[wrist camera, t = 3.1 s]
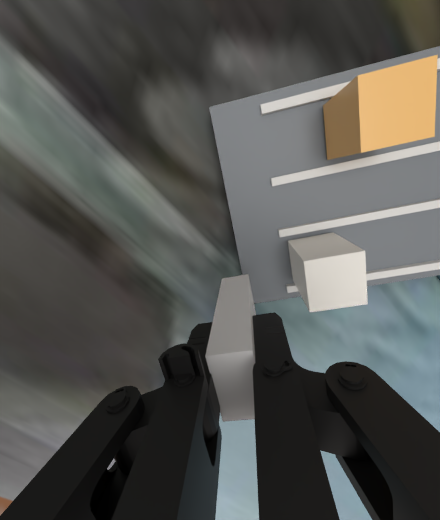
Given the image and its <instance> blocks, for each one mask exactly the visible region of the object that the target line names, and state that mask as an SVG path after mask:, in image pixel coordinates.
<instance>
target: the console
mask: <svg viewBox="0 0 440 520" xmlns="http://www.w3.org/2000/svg"><path fill="white" fill-rule="evenodd" d="M434 55H438V58H437V85H436V112H435V137H431V138H426V139H422V140H417V141H413V142H408V143H403V144H399V145H394V146H390V147H385V148H381V149H376V150H372V151H367V152H363V153H358V154H353V155H349V156H344V157H339V158H334V159H330V160H327V150H326V138H325V125H324V113H323V105H324V104H326V103H327V102H328V101H329V100H330V99H331V98H332V97H334V96H335V95H336V94H337V93H338V92H339V91H340V90H342V89H343V88H344V87H345V86H346V85H347V84H348V83H350V82H351V81H352V80H353V79H354V78H355V77H357V76H358V75H361V74H365V73H369V72H373V71H377V70H380V69H384V68H388V67H392V66H396V65H400V64H403V63H407V62H411V61H415V60H419V59H423V58H426V57H430V56H434ZM209 109H210V114H211V119H212V124H213V129H214V134H215V139H216V144H217V149H218V154H219V159H220V164H221V169H222V174H223V179H224V184H225V189H226V194H227V199H228V204H229V209H230V215H231V220H232V225H233V230H234V235H235V240H236V245H237V250H238V255H239V260H240V265H241V270H242V275H246V274H248V275H249V280H250V286H251V291H252V296H253V301H254V304H255V303H262V302H268V301H275V300H281V299H288V298H294V297H301V295H300V293H299V291H298V289H297V287H296V285H295V283H294V281H293V276H292V269H291V262H290V254H289V247H288V241H289V240H294V239H300V238H305V237H310V236H316V235H321V234H327V233H332V232H333V233H335V234H337V235H339V236H340V237H342V238H344V239H346V240H347V241H349V242H351V243H353V244H354V245H356V246H358V247H360V248H361V249H363V250H365V257H366V280H367V286H372V285H379V284H385V283H392V282H398V281H405V280H411V279H418V278H424V277H431V276H437V275H440V46H438V47H435V48H431V49H427V50H423V51H419V52H416V53H412V54H408V55H404V56H401V57H397V58H393V59H389V60H385V61H382V62H378V63H374V64H370V65H367V66H363V67H359V68H355V69H352V70H348V71H344V72H340V73H336V74H333V75H329V76H325V77H321V78H318V79H314V80H310V81H306V82H302V83H299V84H295V85H291V86H287V87H284V88H280V89H276V90H272V91H268V92H265V93H261V94H257V95H253V96H250V97H246V98H242V99H238V100H235V101H231V102H227V103H223V104H219V105H216V106H212V107H209Z"/></svg>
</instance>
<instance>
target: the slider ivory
mask: <svg viewBox="0 0 440 520" xmlns="http://www.w3.org/2000/svg"><path fill="white" fill-rule="evenodd" d="M288 247H289V254H290V262H291V269H292V276H293V281H294V283H295V285H296V287H297V289H298V291H299V293H300V295H301V297H302V299H303V300H304V302H305V304H306V306H307V308H308V310H309V312H316V311H323V310H330V309H337V308H344V307H351V306H358V305H365V304H368V303H367V280H366V257H365V250H363V249H361V248H360V247H358V246H356V245H354V244H353V243H351V242H349V241H347V240H346V239H344V238H342V237H340V236H339V235H337V234H335V233H333V232H332V233H327V234H321V235H316V236H310V237H305V238H300V239H294V240H289V241H288Z"/></svg>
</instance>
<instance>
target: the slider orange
mask: <svg viewBox="0 0 440 520" xmlns="http://www.w3.org/2000/svg"><path fill="white" fill-rule="evenodd" d="M437 58H438V55H434V56H430V57H426V58H423V59H419V60H415V61H411V62H407V63H403V64H400V65H396V66H392V67H388V68H384V69H380V70H377V71H373V72H369V73H365V74H361V75H358V76H357V77H355V78H354V79H353V80H352V81H351V82H350V83H348V84H347V85H346V86H345V87H344V88H343V89H342V90H340V91H339V92H338V93H337V94H336V95H335V96H334V97H332V98H331V99H330V100H329V101H328V102H327V103H326V104H324V105H323V113H324V125H325V138H326V150H327V160H330V159H334V158H339V157H344V156H349V155H353V154H358V153H363V152H367V151H372V150H376V149H381V148H385V147H390V146H394V145H399V144H403V143H408V142H413V141H417V140H422V139H426V138H431V137H435V112H436V85H437Z"/></svg>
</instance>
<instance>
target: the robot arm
mask: <svg viewBox="0 0 440 520" xmlns="http://www.w3.org/2000/svg"><path fill="white" fill-rule="evenodd" d="M158 360H159V363H160V366H161V369H162V372H163V375H164V378H165V382H164V385H163V387H161V388H158V389H156V390H154V391H151V392H148V393H145V394H143V395H141V394H140V392H139V390H138V389H137V388H136V387H133V386H125V387H122V388H119V389H116V390H115V391H113V392H111V393H110V394H108V395H107V396H106V397H105V398H104V399H103V400H102V401H101V402H100V403H99V404H98V405H97V407H96V408H95V409H94V410H93V411H92V412H91V413H90V415H89V416H88V417H87V418H86V419H85V420H84V421H83V422H82V424H81V425H80V426H79V427H78V428H77V429H76V430H75V432H74V433H73V434H72V435H71V436H70V437H69V438H68V440H67V441H66V442H65V443H64V444H63V445H62V446H61V447H60V449H59V450H58V451H57V452H56V453H55V454H54V455H53V457H52V458H51V459H50V460H49V461H48V462H47V463H46V465H45V466H44V467H43V468H42V469H41V470H40V471H39V472H38V474H37V475H36V476H35V477H34V478H33V479H32V480H31V482H30V483H29V484H28V485H27V486H26V487H25V488H24V489H23V491H22V492H21V493H20V494H19V495H18V496H17V497H16V499H15V500H14V501H13V502H12V503H11V504H10V505H9V507H8V508H7V509H6V510H5V511H4V512H3V513H2V514H1V516H0V520H215V513H216V501H217V489H218V476H219V464H220V452H221V439H222V436H221V429H220V426H219V415H220V413H221V416H222V420H223V421H235V420H248V419H255V435H256V457H257V479H258V501H259V520H339V516H338V513H337V509H336V506H335V502H334V498H333V495H332V491H331V488H330V484H329V481H328V477H327V473H326V470H325V466H324V463H323V459H322V456H321V452H320V450H321V451H325V452H329V453H332V454H335V455H336V458H337V460H338V461H339V463H340V465H341V466H342V468H343V470H344V472H345V473H346V475H347V477H348V478H349V480H350V482H351V484H352V485H353V487H354V489H355V490H356V492H357V494H358V496H359V497H360V499H361V501H362V503H363V504H364V506H365V508H366V509H367V511H368V513H369V515H370V516H371V518H372V520H440V432H439V431H438V430H436V429H435V428H434V427H433V426H432V425H431V424H430V423H429V422H428V421H427V420H426V419H425V418H424V417H422V416H421V415H420V414H419V413H418V412H417V411H416V410H415V409H414V408H413V407H412V406H411V405H410V404H408V403H407V402H406V401H405V400H404V399H403V398H402V397H401V396H400V395H399V394H398V393H397V392H396V391H395V390H393V389H392V388H391V387H390V386H389V385H388V384H387V383H386V382H385V381H384V380H383V379H382V378H381V377H379V376H378V375H377V374H376V373H375V372H374V371H372V370H371V369H369V368H368V367H367V366H364V365H361V364H359V363H355V362H339V363H336V364H334V365H332V366H330V367H329V368H328V369H327V371H326V373H319V372H313V371H309V370H306V369H304V368H302V367H300V366H299V365H297V364H296V362H295V361H294V360H293V358H292V355H291V352H290V348H289V344H288V341H287V337H286V333H285V330H284V326H283V322H282V319H281V317H279V316H278V315H277V314H276V313H268V314H261V315H256V312H255V307H254V301H253V296H252V291H251V286H250V280H249V275H248V274H246V275H240V276H234V277H228V278H222V281H221V286H220V290H219V295H218V299H217V304H216V309H215V313H214V318H213V322H209V323H202V324H198V325H197V326H196V327H195V328H194V329H193V330H192V331H191V334H190V337H189V340H188V343H187V344H180V345H176V346H174V347H171V348H169V349H168V350H166V351H165V352H164V353H163V354H162V355H161V356H160V358H159V359H158ZM113 459H115V461H116V462H115V463H114V465H113V466H112V467H111V468H110V469H109V470H107V468H108V466H109V465H110V463H111V462H112V460H113Z"/></svg>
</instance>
